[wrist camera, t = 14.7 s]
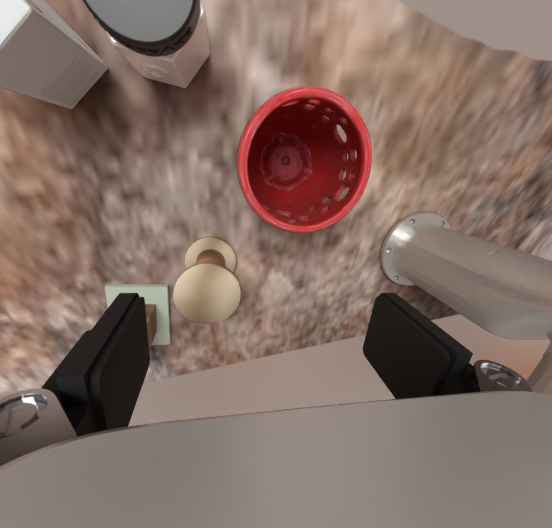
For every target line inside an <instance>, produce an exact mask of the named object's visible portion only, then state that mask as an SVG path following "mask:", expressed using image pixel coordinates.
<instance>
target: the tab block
mask: <svg viewBox="0 0 552 528" xmlns="http://www.w3.org/2000/svg"><path fill="white" fill-rule="evenodd" d="M145 308H146V320H147V332H148V343H149V351H150V348H151V345H152V342H153V340H154V337H155V334H156V332H157V320H156V304H145Z"/></svg>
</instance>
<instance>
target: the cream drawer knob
mask: <svg viewBox="0 0 552 528" xmlns="http://www.w3.org/2000/svg"><path fill="white" fill-rule="evenodd" d="M185 266H186V270H185V271H183V272H182V273H181V275H180V276H179V278H178V280H177V282H176V285H175V288H174V292H173V297H174V302H175V305H176V307H177V309H178V310H179V312H180V313H181V314H182V315H183V316H185V317H186V318H187V319H189V320H191V321H194V322H197V323H202V324H211V323H216V322H220V321H222V320H224V319H226V318H228V317H229V316H230V315H231V314H232V313H233V312H234V311H235V310H236V308H237V307H238V305H239V302H240V297H241V291H240V285H239V282H238V279H237V277H236V276H235V274H234V273H233V272H234V269H235V266H236V258H235V253H234V251H233V249H232V247H231V246H230V245H229V244H228V243H227V242H226V241H224V240H222V239H220V238H217V237H204V238H201V239H198V240H197V241H195V242H194V243H193V244H192V245H191V246H190V247H189V249H188V251H187V254H186V257H185Z"/></svg>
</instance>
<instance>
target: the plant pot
mask: <svg viewBox="0 0 552 528" xmlns="http://www.w3.org/2000/svg"><path fill="white" fill-rule="evenodd" d="M308 104H309V105H308ZM312 105H313V106H312ZM326 117H328V118H329V119H328V118H326ZM337 125H340V126H341V127H342V129H343V130H344V132H345V134H346V136H347V141H346V142H344V141H343V140H342V139H341V137H340V135H339V133H338V131H337ZM355 150H356V152H357V159H356V158H355ZM347 153H348V155H349V159H348V160H347ZM371 161H372V149H371V142H370V137H369V133H368V130H367V128H366V125H365V123H364V122H363V120H362V118H361V116H360V115H359V113H358V112H357V111H356V109H355V108H354V107H353V106H352V105H351V104H350V103H349V102H348V101H347V100H346V99H345V98H343V97H342V96H340V95H339V94H337V93H335V92H333V91H331V90H328V89H325V88H321V87H315V86H301V87H295V88H291V89H287V90H285V91H283V92H280V93H278V94H277V95H275V96H273V97H272V98H270V99H269V100H268V101H266V102H265V103H264V104H263V105H262V106H261V107H260V108H259V109H258V110H257V111H256V112H255V113H254V114H253V116H252V117H251V119H250V120H249V122H248V123H247V125H246V127H245V129H244V131H243V133H242V136H241V139H240V142H239V146H238V152H237V174H238V179H239V183H240V186H241V189H242V192H243V194H244V196H245V198H246V200H247V202H248V203H249V205H250V206H251V208H252V209H253V210H254V211H255V212H256V213H257V214H258V215H259V216H260V217H261V218H262V219H263V220H264V221H266V222H267V223H269V224H270V225H272V226H274V227H276V228H278V229H281V230H284V231H288V232H294V233H310V232H315V231H319V230H322V229H325V228H327V227H329V226H331V225H333V224H335V223H336V222H338V221H339V220H341V219H342V218H343V217H344V216H346V215H347V214H348V213H349V212H350V210H351V209H352V208H353V207H354V206H355V205H356V203H357V202H358V200H359V199H360V197H361V195H362V193H363V192H364V189H365V187H366V185H367V182H368V178H369V174H370V170H371ZM345 170H346V177H345V178H344V180H343V173H344V171H345ZM353 175H354V178H353ZM347 187H349V191H348V193H347V194H346V196H345V197H344V198H343V199H342V200H339V201H337V200H338V198H339V196H340V194H341V193H342V192H343V190H344V189H346V188H347ZM329 199H331V200H330V201H329V202H328V203H327V204H325V205H323V204H324V203H325V202H326V201H327V200H329ZM312 210H315V211H313V212H310V211H312ZM326 211H327V212H326ZM280 215H284V216H287V217H290V218H284V217H281V216H280Z"/></svg>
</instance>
